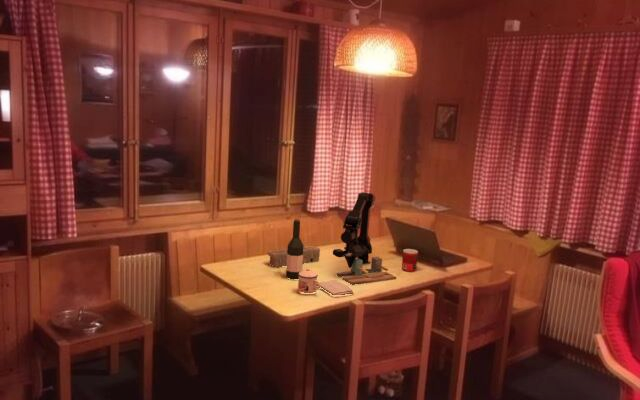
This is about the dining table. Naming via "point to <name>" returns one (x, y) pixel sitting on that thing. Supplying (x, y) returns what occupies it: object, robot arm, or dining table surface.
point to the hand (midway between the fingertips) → (349, 267)
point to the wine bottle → (294, 253)
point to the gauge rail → (375, 267)
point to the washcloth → (336, 287)
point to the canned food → (409, 260)
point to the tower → (280, 256)
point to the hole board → (369, 278)
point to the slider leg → (358, 267)
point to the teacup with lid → (308, 281)
